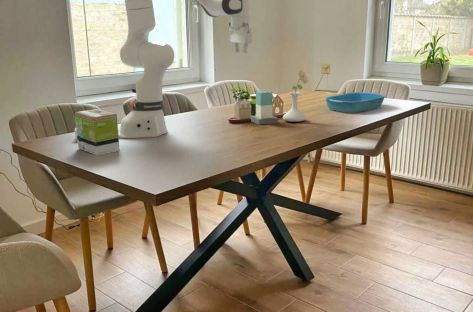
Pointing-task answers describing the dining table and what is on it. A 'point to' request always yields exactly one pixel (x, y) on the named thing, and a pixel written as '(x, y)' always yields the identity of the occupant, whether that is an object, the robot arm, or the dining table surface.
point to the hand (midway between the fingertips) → (240, 52)
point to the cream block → (264, 111)
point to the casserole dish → (355, 101)
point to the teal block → (263, 98)
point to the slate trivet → (264, 120)
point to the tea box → (97, 131)
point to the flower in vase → (294, 112)
